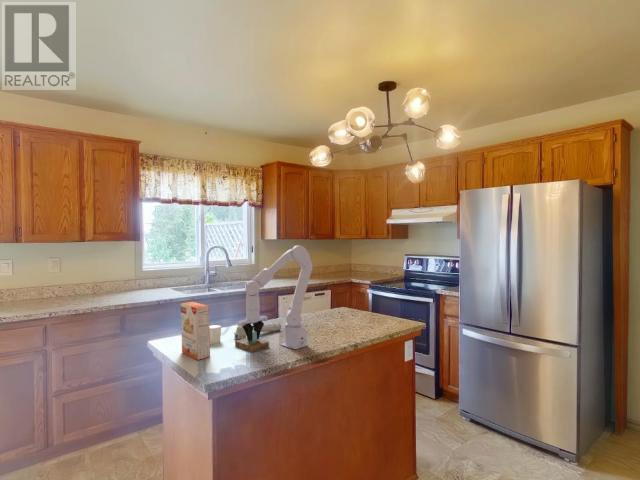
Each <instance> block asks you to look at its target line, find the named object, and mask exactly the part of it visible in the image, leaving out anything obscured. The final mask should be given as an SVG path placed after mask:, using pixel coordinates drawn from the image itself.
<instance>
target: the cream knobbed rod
mask: <svg viewBox="0 0 640 480" xmlns="http://www.w3.org/2000/svg"><path fill="white" fill-rule="evenodd" d="M281 328H282V325H281V324H280V323H279V322H276V323H275V322H270V323H264V325H263V327H262V329H261V332H260V333H266V332H273V333H274V332H278V331H279V332H280V330H281ZM253 331H254V327H253ZM233 335H234V339H235V340H241V339H245V338H247V336H246V333H245V330H244V329H243V327H240V326H238V325H237V327H236V329H235V331H234V332H233Z"/></svg>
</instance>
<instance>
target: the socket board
mask: <svg viewBox="0 0 640 480" xmlns="http://www.w3.org/2000/svg"><path fill="white" fill-rule="evenodd" d="M234 343H235V345H234V346H235V348H239V349H242V350H244V351H248V352H250V353H254V352H258V351H261V350H265V349H267V348H269V347H270V342H269V341H268V340H264V339H261V338H259V339H258V340H257V343H254V344H251V343H250V342H249V341H248V339H247V337H246V338H245V339H236V340H235V341H234Z"/></svg>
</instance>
